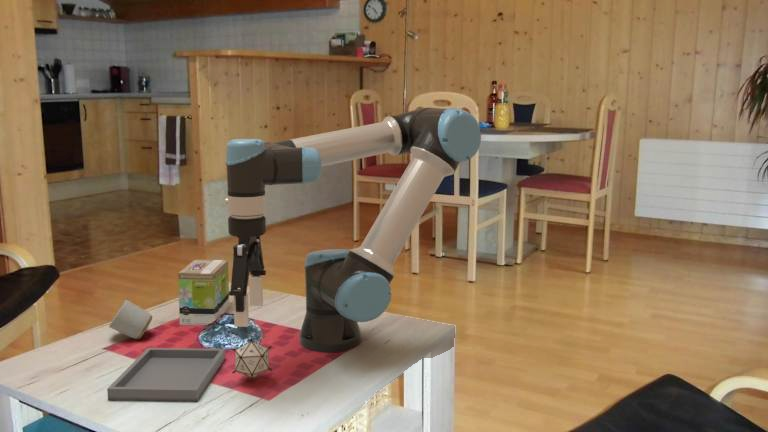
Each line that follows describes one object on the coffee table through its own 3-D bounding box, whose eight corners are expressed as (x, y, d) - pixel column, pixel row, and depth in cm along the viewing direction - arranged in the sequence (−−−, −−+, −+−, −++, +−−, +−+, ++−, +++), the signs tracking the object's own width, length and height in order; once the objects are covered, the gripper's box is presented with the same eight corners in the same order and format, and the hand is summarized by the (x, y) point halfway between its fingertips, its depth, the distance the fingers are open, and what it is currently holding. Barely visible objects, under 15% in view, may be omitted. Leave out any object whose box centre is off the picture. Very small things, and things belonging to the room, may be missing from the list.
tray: (225, 359, 159) (225, 349, 159) (197, 401, 138) (196, 390, 137) (148, 358, 160) (147, 347, 159) (108, 400, 138) (107, 388, 138)
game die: (237, 393, 141) (235, 347, 140) (226, 378, 149) (224, 334, 147) (279, 385, 145) (278, 340, 144) (266, 370, 153) (265, 327, 151)
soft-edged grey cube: (136, 347, 171) (148, 327, 168) (105, 332, 169) (116, 312, 165) (149, 319, 180) (161, 300, 177) (120, 305, 178) (132, 285, 174)
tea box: (217, 327, 181) (214, 272, 178) (178, 327, 181) (175, 272, 178) (230, 309, 195) (228, 258, 193) (195, 309, 196) (192, 258, 193)
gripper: (242, 205, 153) (245, 297, 157) (211, 226, 128) (215, 335, 132) (276, 205, 153) (278, 298, 156) (251, 227, 128) (254, 336, 132)
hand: (249, 315), depth 144 cm, fingers open, 13 cm apart
